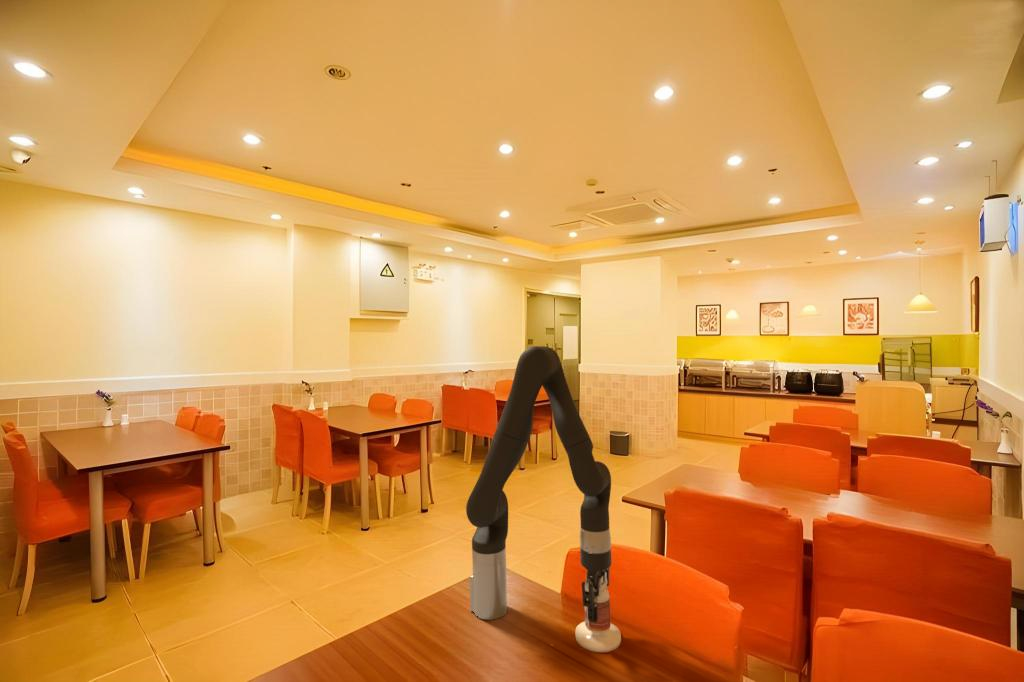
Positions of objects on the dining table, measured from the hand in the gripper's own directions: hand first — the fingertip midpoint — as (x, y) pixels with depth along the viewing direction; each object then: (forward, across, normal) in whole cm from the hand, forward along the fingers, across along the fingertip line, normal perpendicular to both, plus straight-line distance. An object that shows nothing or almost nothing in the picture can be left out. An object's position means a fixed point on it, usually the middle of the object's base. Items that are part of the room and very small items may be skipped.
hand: (597, 613), depth 114 cm
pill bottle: (+3, 0, 0) cm, 3 cm away
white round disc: (+6, 0, 0) cm, 6 cm away
